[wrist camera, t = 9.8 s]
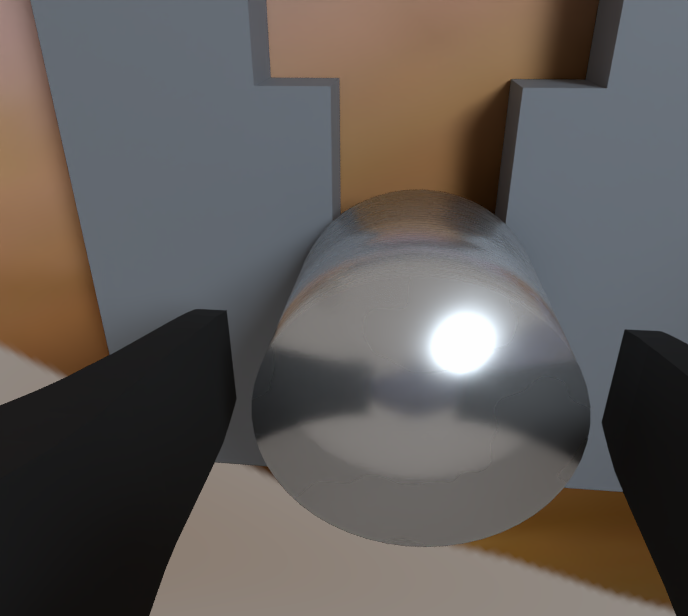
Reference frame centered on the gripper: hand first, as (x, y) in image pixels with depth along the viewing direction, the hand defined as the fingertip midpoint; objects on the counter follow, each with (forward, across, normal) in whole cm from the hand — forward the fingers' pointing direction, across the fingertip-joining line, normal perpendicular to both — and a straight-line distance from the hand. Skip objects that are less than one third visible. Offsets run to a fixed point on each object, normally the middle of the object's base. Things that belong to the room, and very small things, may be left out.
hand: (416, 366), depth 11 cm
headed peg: (+4, 0, 0) cm, 4 cm away
